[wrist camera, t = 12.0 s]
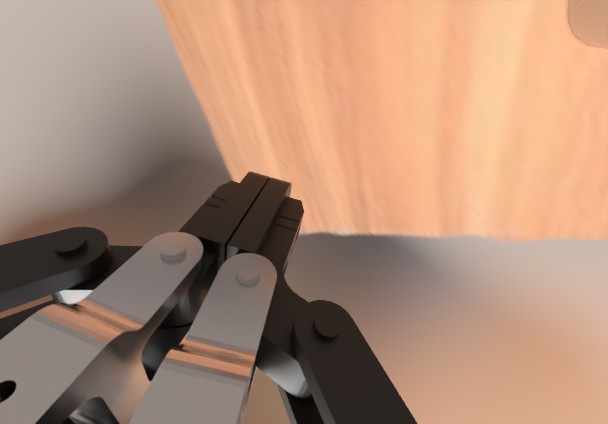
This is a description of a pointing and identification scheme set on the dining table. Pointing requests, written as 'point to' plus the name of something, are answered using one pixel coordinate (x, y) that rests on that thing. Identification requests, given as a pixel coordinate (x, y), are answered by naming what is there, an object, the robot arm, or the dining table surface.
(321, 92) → the dining table surface
